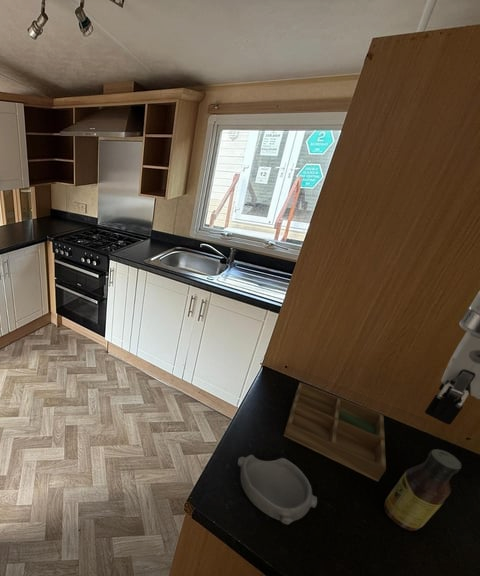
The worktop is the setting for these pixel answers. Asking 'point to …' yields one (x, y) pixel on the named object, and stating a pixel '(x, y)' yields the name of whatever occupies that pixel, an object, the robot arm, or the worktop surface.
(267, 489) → the dish
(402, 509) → the sauce bottle
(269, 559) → the worktop surface
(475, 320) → the robot arm
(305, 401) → the grid
